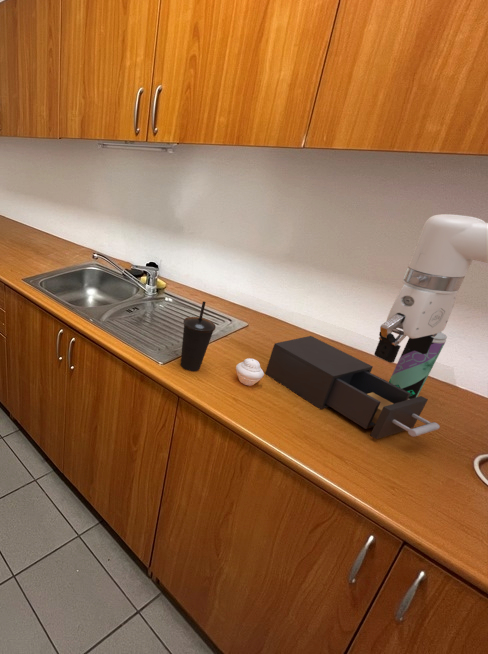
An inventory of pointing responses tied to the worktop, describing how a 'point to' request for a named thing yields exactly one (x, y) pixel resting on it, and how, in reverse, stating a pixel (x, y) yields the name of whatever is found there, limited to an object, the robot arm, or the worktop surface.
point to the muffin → (249, 371)
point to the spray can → (416, 366)
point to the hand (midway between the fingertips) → (400, 354)
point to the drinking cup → (195, 340)
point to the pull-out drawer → (361, 407)
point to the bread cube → (382, 403)
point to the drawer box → (311, 367)
